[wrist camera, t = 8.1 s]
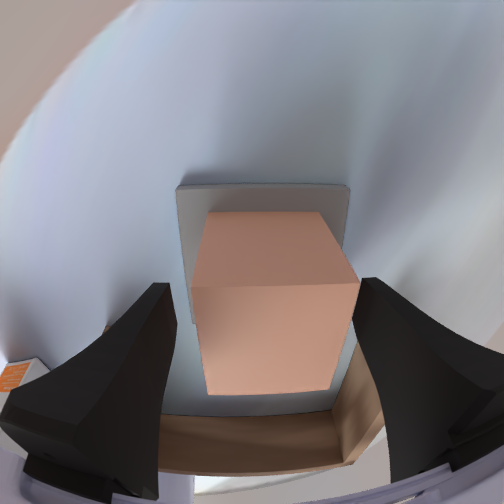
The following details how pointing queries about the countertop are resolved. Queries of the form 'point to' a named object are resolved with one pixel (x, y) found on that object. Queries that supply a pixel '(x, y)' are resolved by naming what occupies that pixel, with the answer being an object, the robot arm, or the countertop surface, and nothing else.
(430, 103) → the countertop surface
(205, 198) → the mat
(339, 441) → the open box
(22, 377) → the skincare box
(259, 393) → the block
